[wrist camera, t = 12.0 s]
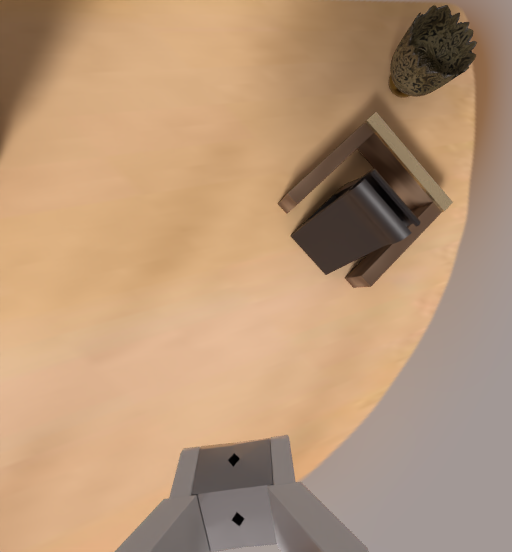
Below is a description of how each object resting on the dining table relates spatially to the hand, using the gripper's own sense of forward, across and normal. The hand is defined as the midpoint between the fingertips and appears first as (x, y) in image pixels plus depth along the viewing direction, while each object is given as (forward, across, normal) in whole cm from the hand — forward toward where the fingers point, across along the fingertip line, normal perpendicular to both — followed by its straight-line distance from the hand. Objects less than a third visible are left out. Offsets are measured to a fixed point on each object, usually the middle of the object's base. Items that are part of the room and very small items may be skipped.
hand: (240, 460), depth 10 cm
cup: (+40, -21, -16) cm, 48 cm away
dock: (+34, -12, -2) cm, 36 cm away
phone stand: (+33, -10, 0) cm, 34 cm away
